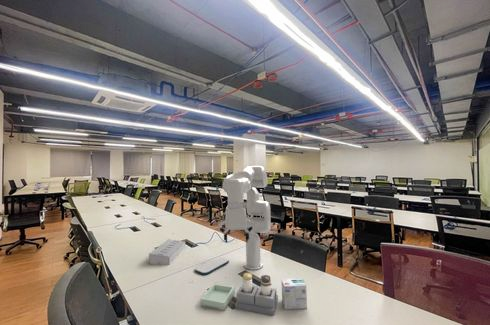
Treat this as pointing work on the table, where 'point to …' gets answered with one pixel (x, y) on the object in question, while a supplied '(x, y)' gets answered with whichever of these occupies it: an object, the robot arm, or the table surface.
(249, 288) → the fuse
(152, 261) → the warehouse
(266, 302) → the panel
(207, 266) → the external hard drive
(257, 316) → the table surface
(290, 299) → the light bulb box
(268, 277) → the fuse
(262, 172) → the robot arm
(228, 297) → the parts tray
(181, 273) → the table surface
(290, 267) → the table surface
